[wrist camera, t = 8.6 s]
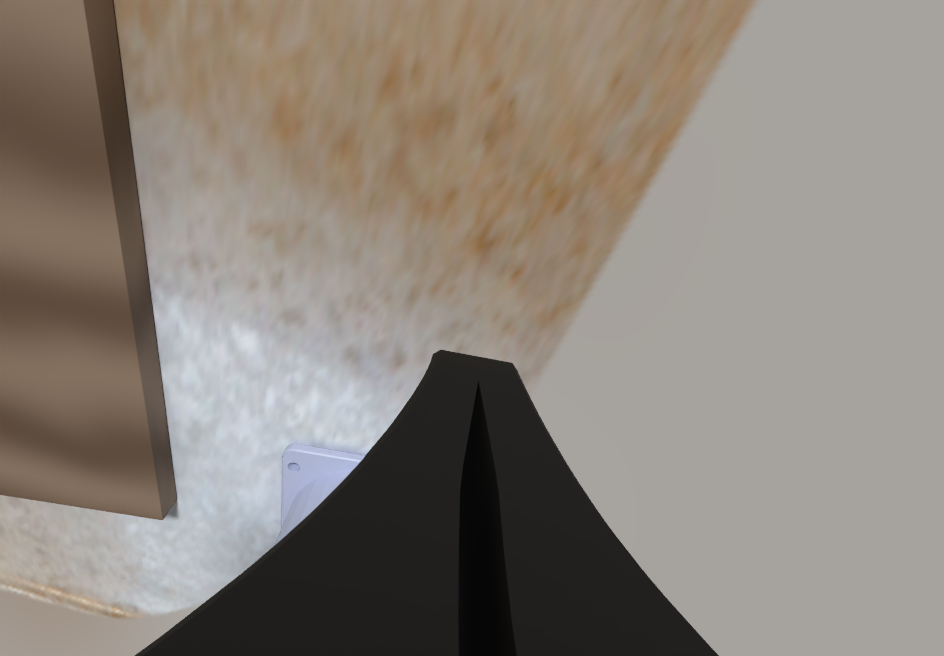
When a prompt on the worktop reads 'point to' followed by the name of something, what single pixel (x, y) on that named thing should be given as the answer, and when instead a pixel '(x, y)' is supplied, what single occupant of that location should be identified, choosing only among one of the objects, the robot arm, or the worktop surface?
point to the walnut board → (74, 272)
